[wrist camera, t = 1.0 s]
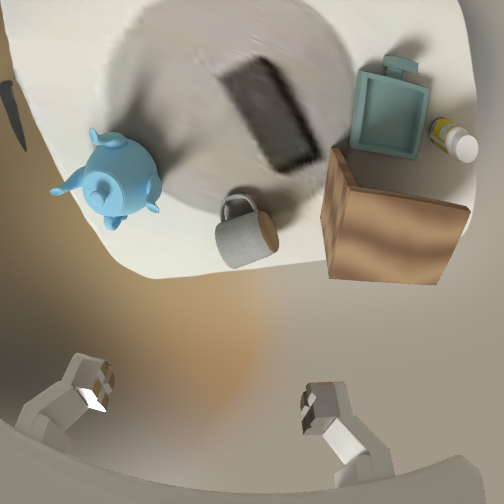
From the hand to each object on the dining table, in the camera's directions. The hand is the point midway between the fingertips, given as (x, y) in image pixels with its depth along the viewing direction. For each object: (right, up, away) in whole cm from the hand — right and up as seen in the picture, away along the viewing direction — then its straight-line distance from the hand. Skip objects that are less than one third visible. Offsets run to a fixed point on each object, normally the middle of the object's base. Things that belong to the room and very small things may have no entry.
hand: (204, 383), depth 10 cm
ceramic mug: (+1, +11, +37) cm, 39 cm away
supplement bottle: (+30, +24, +22) cm, 44 cm away
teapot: (-19, +20, +32) cm, 42 cm away
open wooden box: (+21, +15, +31) cm, 40 cm away
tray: (+21, +26, +22) cm, 39 cm away
